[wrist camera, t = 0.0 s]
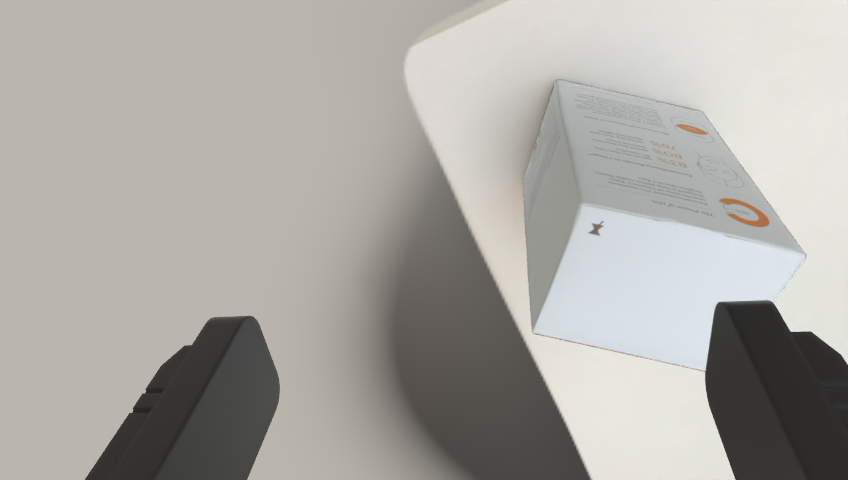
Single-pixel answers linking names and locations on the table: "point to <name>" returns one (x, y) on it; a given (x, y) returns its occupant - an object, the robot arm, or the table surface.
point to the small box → (643, 227)
